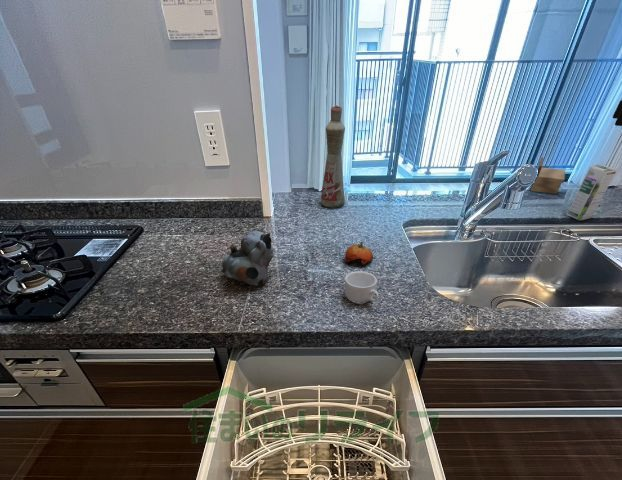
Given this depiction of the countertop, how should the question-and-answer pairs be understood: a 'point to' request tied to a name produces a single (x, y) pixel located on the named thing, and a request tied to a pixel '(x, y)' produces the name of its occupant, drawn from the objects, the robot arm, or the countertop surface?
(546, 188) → the small cardboard box
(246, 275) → the lucky cat figurine
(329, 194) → the bottle
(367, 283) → the teacup
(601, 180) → the syrup box
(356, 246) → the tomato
